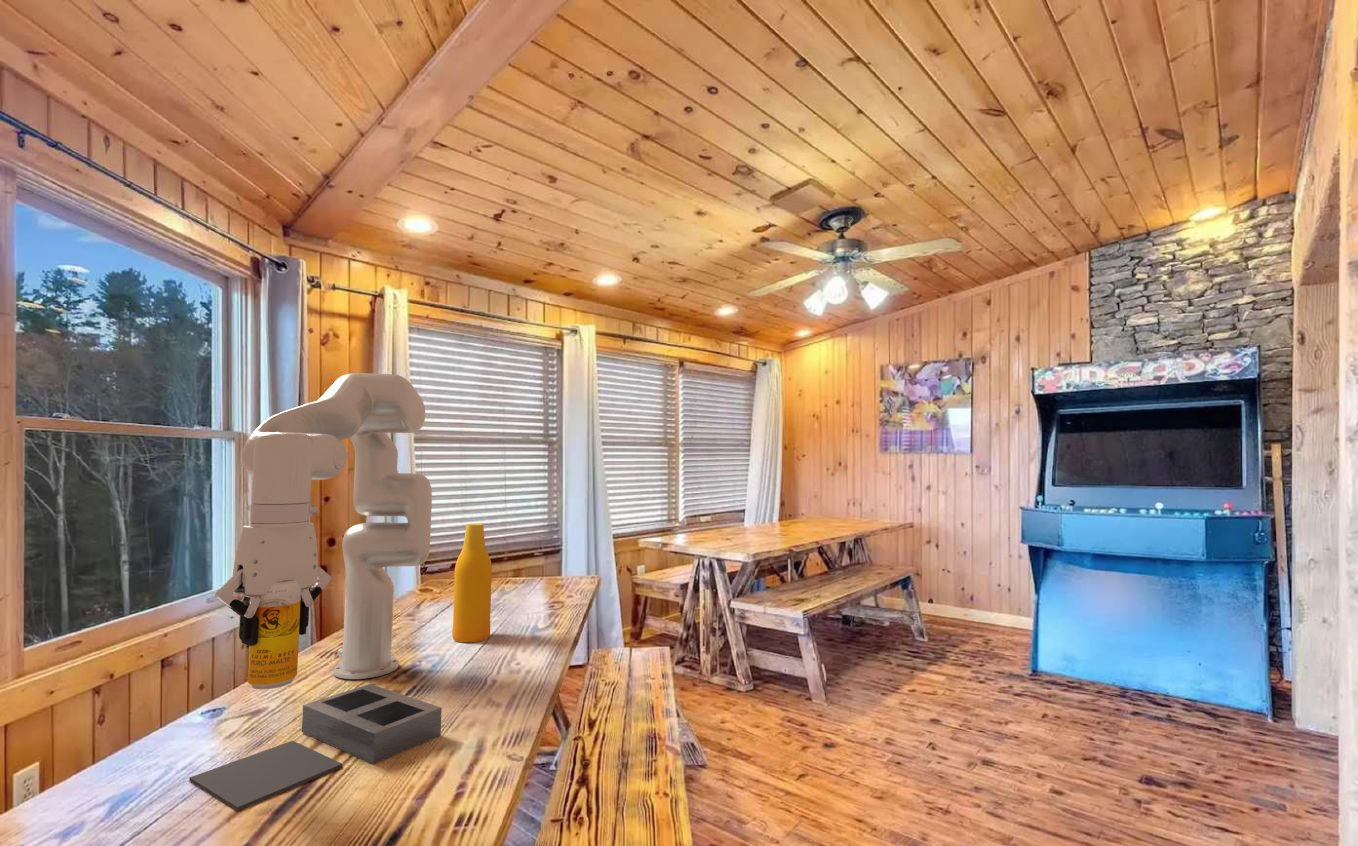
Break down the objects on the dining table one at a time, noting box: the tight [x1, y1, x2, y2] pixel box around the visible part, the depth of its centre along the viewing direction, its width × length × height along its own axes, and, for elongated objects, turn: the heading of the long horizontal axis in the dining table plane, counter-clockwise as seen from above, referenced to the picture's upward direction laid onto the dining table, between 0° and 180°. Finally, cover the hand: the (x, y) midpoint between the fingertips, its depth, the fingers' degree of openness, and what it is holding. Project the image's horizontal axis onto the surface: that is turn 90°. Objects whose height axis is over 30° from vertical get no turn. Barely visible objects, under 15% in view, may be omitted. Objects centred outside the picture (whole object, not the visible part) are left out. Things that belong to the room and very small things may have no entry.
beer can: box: [247, 580, 301, 691], centre depth 93 cm, size 6×6×15 cm
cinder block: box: [301, 683, 443, 765], centre depth 105 cm, size 20×12×4 cm, turn 58°
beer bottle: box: [451, 522, 493, 643], centre depth 162 cm, size 9×9×29 cm
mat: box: [188, 740, 344, 812], centre depth 91 cm, size 14×14×1 cm
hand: (274, 637), depth 93 cm, fingers closed on beer can, 6 cm apart
